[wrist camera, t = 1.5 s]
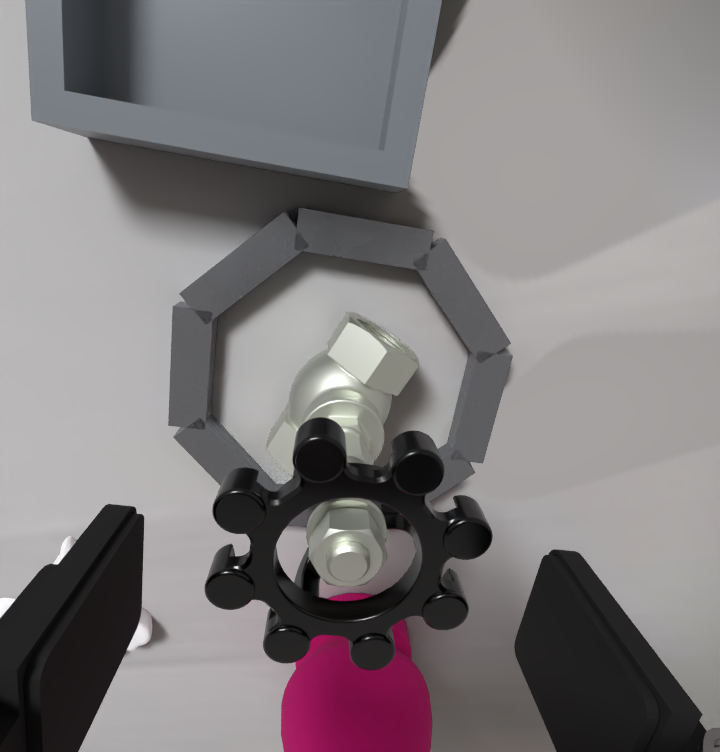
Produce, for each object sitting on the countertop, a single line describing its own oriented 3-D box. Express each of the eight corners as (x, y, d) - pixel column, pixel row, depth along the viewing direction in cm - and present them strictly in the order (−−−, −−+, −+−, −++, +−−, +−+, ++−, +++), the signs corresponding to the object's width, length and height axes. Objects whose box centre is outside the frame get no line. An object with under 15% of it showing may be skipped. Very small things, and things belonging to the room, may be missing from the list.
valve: (241, 404, 22) (145, 609, 11) (315, 283, 20) (295, 374, 9) (360, 468, 23) (387, 709, 12) (438, 361, 22) (554, 523, 10)
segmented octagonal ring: (184, 187, 19) (177, 186, 18) (532, 248, 20) (542, 249, 19) (172, 500, 23) (165, 512, 22) (455, 529, 25) (460, 542, 24)
